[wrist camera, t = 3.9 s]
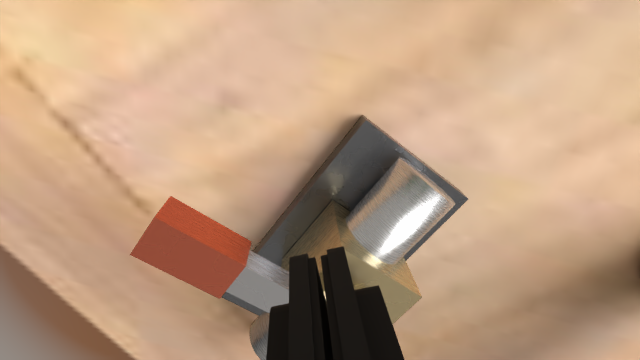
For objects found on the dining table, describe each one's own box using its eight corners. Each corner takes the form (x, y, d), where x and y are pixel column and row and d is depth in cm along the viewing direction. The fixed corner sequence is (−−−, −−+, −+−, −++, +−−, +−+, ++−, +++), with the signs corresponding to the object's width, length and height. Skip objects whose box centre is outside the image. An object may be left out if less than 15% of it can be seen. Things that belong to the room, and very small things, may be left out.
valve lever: (383, 313, 22) (392, 341, 20) (354, 340, 23) (359, 370, 21) (172, 193, 18) (156, 214, 16) (146, 232, 19) (128, 257, 17)
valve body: (362, 115, 26) (391, 153, 18) (460, 190, 29) (522, 253, 21) (225, 285, 32) (200, 373, 24) (318, 333, 35) (324, 424, 27)
